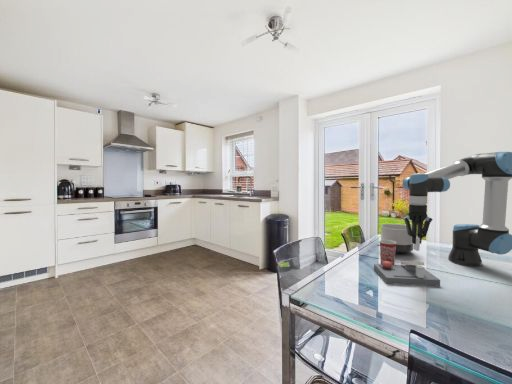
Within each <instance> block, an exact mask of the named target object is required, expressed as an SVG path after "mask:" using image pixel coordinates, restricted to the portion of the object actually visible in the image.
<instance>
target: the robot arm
mask: <svg viewBox="0 0 512 384" xmlns="http://www.w3.org/2000/svg"><path fill="white" fill-rule="evenodd" d="M468 175H481V178H482V179H483V180H484V196H483V197H484V198H483V209H482V210H483V211H482V223H481V224H474V223H473V224H471V223H458V224H457V223H456V224H454V225H453V229H452V248H451V250H450V252H449V254H448V256H447V257H448V259H447V260H448V261H450V262H451V263H453V264H457V265H462V266H466V267H481V266H482V265H483V261H482V258H481V255H480V252H479V250H481V251H484V252H488V253H492V254H497V255H501V256H502V255H506V254H508V253H510V252H511V251H512V234H511V233H509V232H510V229H509V227H506V219H507V218H506V217H507V207H508V206H507V202H508V191H509V181H510V180H512V151H498V152H497V151H496V152H487V153H484V152H483V153H477V154H476V153H475V154H472V155H469V156H466V157H463V158H460V159H458V160H456V161H453V163H452V164H449V165H446V166H443V167H440V168H438V169H434V170H431V171H428V172H426V173H412V174H410V177H406V178H404V179H403V180H402V188H403V189H404V190H407V191H409V195H408V196H409V197H408V199H409V200H408V202H409V204H408V214H407V215H406V216H404V217H402V219H403V221H404V225H406V228H407V232H408V235H409V236H412V243H413V251H419V252H420V248H421V247H420V245H421V244H422V242H423V241H422V239H423V238H425V237H426V236H427V234H428V231H429V227H430V224H431V223H432V221H434V220H433V218H431V217H429V216H428V214H427V212H428V205H427V204H428V193H442V192H443V193H444V192H447V191H448V190H450V188H451V181H450V180H451V179H453V178H457V177H464V176H468ZM410 221H411V222H410ZM411 227H412V230H411Z"/></svg>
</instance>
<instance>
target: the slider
mask: <svg viewBox="0 0 512 384" xmlns="http://www.w3.org/2000/svg"><path fill="white" fill-rule="evenodd" d="M424 269H425V267H424V266H423V265H417V266H416V276H417V277H418V278H424ZM425 270H426V269H425Z"/></svg>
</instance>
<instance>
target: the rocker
mask: <svg viewBox="0 0 512 384" xmlns="http://www.w3.org/2000/svg"><path fill="white" fill-rule="evenodd" d="M400 265H417V266H425V262H423V261H422V262H421V261H415V260H414V261H413V260H412V261H400Z"/></svg>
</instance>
